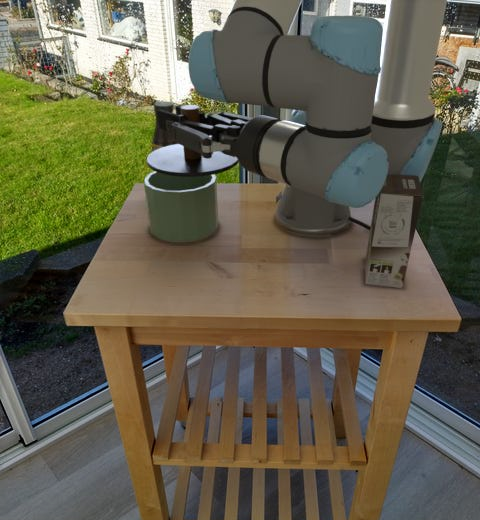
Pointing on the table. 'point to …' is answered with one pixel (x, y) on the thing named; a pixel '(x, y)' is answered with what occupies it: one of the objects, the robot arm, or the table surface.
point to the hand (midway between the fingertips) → (169, 116)
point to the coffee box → (393, 230)
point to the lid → (188, 156)
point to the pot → (181, 206)
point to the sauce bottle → (160, 135)
